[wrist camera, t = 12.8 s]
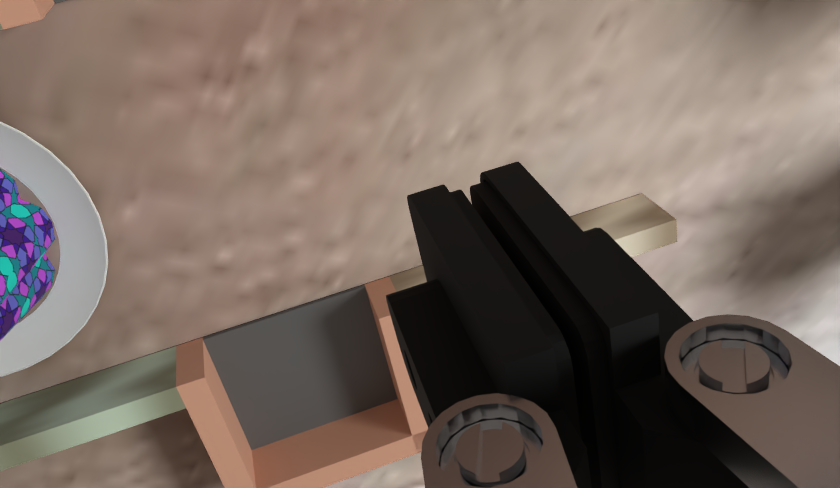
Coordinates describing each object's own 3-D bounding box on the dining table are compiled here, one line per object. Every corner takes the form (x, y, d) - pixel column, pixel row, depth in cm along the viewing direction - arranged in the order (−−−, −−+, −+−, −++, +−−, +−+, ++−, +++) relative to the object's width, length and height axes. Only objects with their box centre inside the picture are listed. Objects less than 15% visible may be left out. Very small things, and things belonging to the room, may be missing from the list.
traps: (225, -337, 24) (230, -359, 21) (423, 405, 39) (440, 444, 37) (-110, -268, 22) (-147, -282, 20) (235, 472, 38) (239, 517, 36)
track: (620, -180, 29) (678, -183, 26) (643, 214, 38) (689, 251, 34) (-458, 92, 24) (-564, 134, 20) (-141, 474, 33) (-178, 548, 29)
